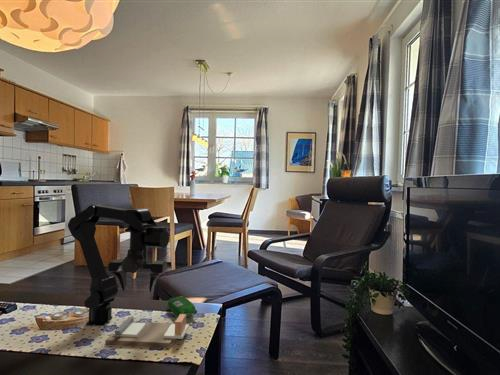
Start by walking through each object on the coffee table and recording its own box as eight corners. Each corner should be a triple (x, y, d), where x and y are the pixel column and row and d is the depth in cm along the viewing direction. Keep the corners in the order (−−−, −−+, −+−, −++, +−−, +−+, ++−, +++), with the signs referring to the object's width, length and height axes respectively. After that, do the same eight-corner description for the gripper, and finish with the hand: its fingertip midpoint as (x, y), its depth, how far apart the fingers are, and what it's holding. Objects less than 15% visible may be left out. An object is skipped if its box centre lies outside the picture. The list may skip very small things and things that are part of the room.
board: (105, 344, 91) (105, 340, 91) (124, 325, 104) (124, 321, 104) (169, 347, 91) (169, 343, 91) (181, 327, 104) (181, 323, 104)
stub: (163, 338, 93) (164, 322, 93) (171, 326, 101) (171, 312, 101) (182, 339, 93) (183, 323, 93) (188, 327, 101) (189, 312, 101)
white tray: (111, 337, 93) (111, 330, 93) (125, 323, 103) (125, 316, 103) (136, 338, 93) (136, 331, 93) (148, 324, 103) (148, 317, 103)
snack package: (179, 324, 107) (179, 309, 107) (165, 308, 120) (166, 295, 120) (197, 320, 111) (198, 306, 111) (182, 305, 124) (183, 292, 124)
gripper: (99, 249, 95) (97, 298, 95) (157, 251, 94) (156, 300, 94) (116, 242, 106) (114, 286, 106) (168, 244, 105) (167, 289, 105)
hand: (137, 290), depth 102 cm, fingers open, 9 cm apart
